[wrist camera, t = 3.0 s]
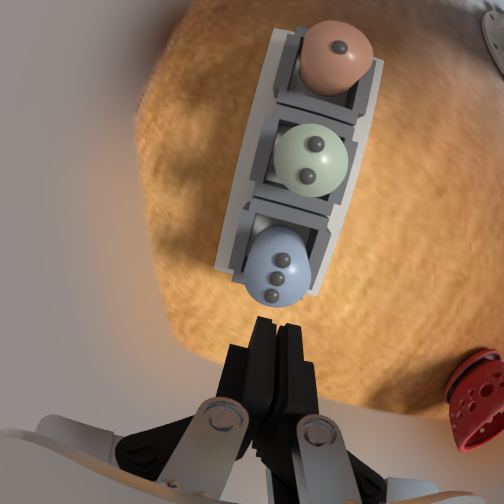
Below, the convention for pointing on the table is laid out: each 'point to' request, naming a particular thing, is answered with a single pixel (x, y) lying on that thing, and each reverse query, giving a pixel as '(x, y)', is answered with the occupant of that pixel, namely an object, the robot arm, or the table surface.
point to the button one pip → (334, 58)
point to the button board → (262, 159)
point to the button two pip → (310, 160)
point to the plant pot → (476, 400)
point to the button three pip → (277, 267)
